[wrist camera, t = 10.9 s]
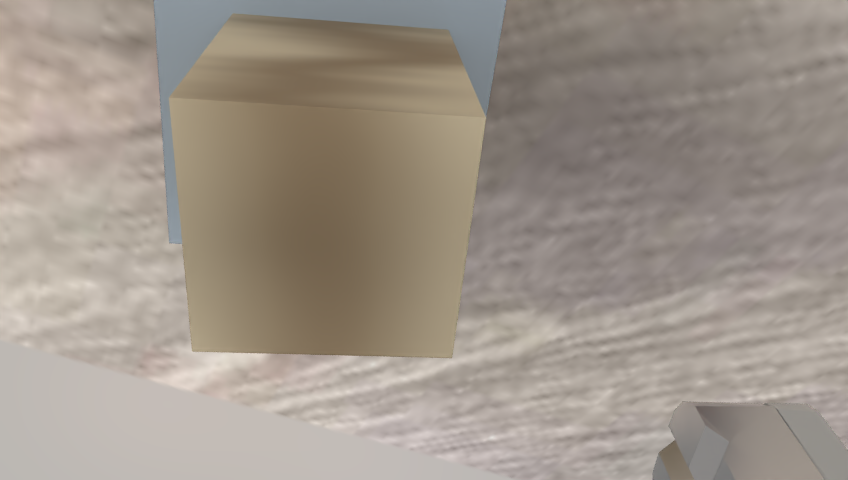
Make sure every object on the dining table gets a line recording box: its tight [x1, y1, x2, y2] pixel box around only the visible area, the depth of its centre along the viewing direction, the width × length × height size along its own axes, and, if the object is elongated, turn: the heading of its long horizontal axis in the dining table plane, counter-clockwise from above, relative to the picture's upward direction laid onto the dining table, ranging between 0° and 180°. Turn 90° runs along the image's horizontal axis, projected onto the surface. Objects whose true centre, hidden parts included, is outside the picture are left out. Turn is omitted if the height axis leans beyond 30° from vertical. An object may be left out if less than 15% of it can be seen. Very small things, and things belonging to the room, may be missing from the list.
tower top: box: [154, 0, 507, 244], centre depth 20 cm, size 8×8×5 cm
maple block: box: [169, 13, 486, 358], centre depth 15 cm, size 5×5×6 cm
